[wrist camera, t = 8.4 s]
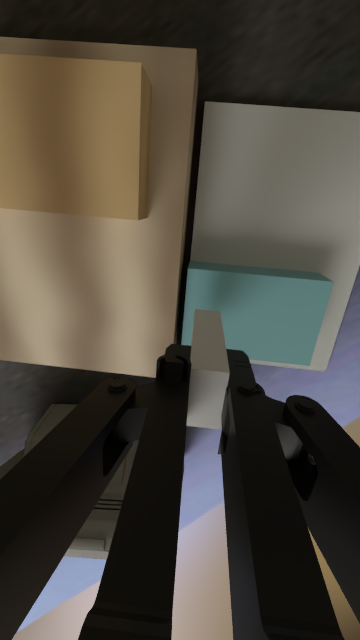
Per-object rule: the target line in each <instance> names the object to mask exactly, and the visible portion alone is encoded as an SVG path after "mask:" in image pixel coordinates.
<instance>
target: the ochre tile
mask: <svg viewBox="0 0 360 640" xmlns="http://www.w3.org/2000/svg"><path fill="white" fill-rule="evenodd" d="M151 104H152V85H151V83H150V81H149V78H148V76H147V74H146V72H145V70H144V67H143V65H142V63H139V62H123V61H108V60H92V59H77V58H61V57H46V56H30V55H15V54H0V208H4V209H15V210H26V211H38V212H49V213H60V214H71V215H82V216H93V217H105V218H116V219H127V220H142V219H146V218H148V192H149V163H150V133H151Z"/></svg>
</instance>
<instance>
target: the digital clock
mask: <svg viewBox="0 0 360 640" xmlns="http://www.w3.org/2000/svg"><path fill="white" fill-rule="evenodd" d="M76 406H77V404H51V406H50V407H49V408H48V410H47V411H46V412H45V413H44V415H43V416H42V417H41V419H40V420H39V421H38V423H37V424H36V425H35V426H34V428H33V429H32V430H31V432H30V434H29V435H28V437H27V439H26V441H25V448H24V449H23V450H21V451H20V452H19V453H17V454H16V455H15V456H14V457H12V458H11V459H10V460H8V461H7V462H6V463H4V464H3V465H2V466H0V479H1V478H2V477H3V476H4V475H5V474H6V473H8V472H9V471H10V470H11V469H12V468H13V467H14V466H15V465H16V464H17V463H18V462H19V461H20V460H21V459H22V458H23V457H24V456H25V455H26V454H27V453H28V452H29V451H30V450H31V449H32V448H33V447H34V446H36V445H37V444H38V443H39V442H40V441H41V440H42V439H43V438H44V437H45V436H46V435H47V434H48V433H49V432H50V431H51V430H52V429H53V428H54V427H55V426H56V425H57V424H58V423H59V422H60V421H61V420H62V419H64V418H65V417H66V416H67V415H68V414H69V413H70V412H71V411H72V410H73V409H74V408H75V407H76ZM138 442H139V440H137V441H134V443H133V446H132V447H131V449H130V451H129V452H128V454H127V455H126V457H125V459H124V460H123V462H122V463H121V465H120V467H119V468H118V470H117V471H116V473H115V475H114V476H113V478H112V480H111V481H110V483H109V484H108V486H107V488H106V489H105V491H104V492H103V494H102V496H101V497H100V499H99V500H98V502H97V504H96V505H95V507H94V508H93V510H92V512H91V513H90V515H89V516H88V518H87V520H86V521H85V523H84V524H83V526H82V528H81V529H80V531H79V532H78V534H77V536H76V537H75V539H74V540H73V542H72V544H71V545H70V547H69V548H68V550H67V552H66V553H65V555H64V556H68V557H81V558H94V559H107V557H108V553H109V549H110V546H111V542H112V538H113V535H114V531H115V527H116V524H117V520H118V516H119V512H120V509H121V505H122V501H123V498H124V494H125V490H126V487H127V483H128V479H129V476H130V472H131V468H132V465H133V461H134V457H135V453H136V450H137V446H138ZM183 473H184V463H183ZM182 481H183V477H182Z"/></svg>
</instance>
